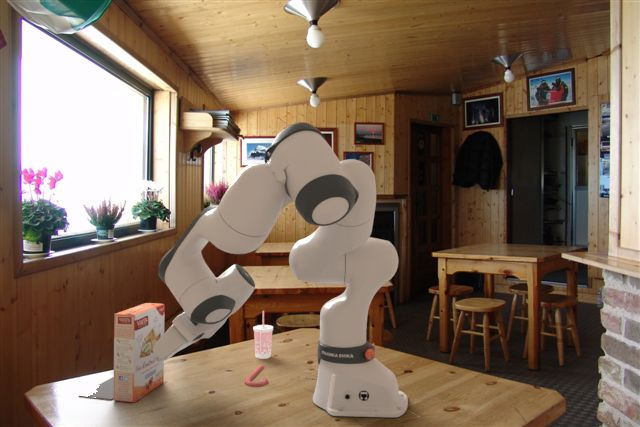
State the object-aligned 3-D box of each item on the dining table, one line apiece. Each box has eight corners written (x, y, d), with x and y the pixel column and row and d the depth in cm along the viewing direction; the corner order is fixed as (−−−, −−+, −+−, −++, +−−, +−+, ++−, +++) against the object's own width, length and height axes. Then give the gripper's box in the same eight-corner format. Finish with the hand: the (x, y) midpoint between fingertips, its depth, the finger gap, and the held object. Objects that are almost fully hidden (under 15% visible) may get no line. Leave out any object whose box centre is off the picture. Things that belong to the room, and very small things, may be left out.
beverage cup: (275, 354, 155) (276, 309, 155) (269, 360, 149) (269, 313, 149) (257, 352, 157) (257, 308, 156) (250, 358, 151) (250, 312, 150)
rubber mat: (143, 381, 131) (143, 380, 131) (111, 400, 119) (111, 399, 119) (113, 378, 133) (113, 377, 133) (78, 396, 121) (78, 395, 121)
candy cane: (279, 370, 142) (279, 365, 142) (264, 389, 128) (264, 383, 128) (259, 368, 143) (259, 363, 143) (241, 387, 129) (241, 382, 129)
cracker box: (135, 404, 117) (135, 314, 116) (112, 401, 118) (112, 313, 117) (165, 382, 130) (165, 302, 130) (144, 381, 132) (144, 301, 131)
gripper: (212, 301, 130) (178, 335, 132) (171, 318, 110) (132, 359, 113) (228, 319, 129) (194, 353, 132) (190, 340, 109) (150, 380, 112)
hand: (165, 356), depth 122 cm, fingers closed
